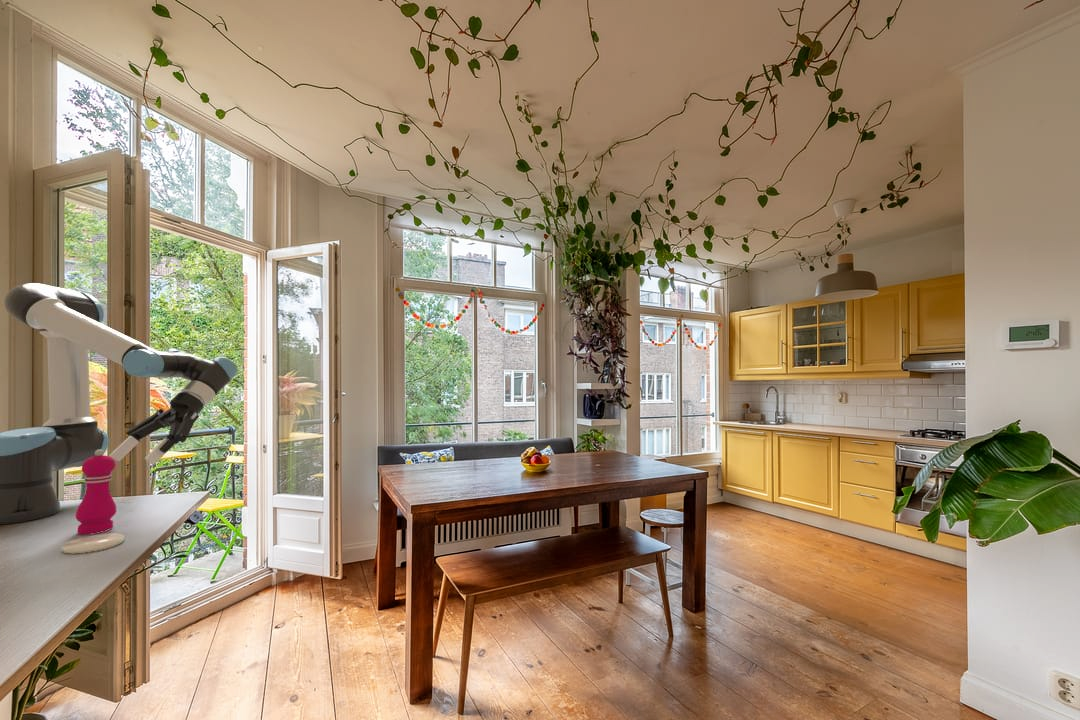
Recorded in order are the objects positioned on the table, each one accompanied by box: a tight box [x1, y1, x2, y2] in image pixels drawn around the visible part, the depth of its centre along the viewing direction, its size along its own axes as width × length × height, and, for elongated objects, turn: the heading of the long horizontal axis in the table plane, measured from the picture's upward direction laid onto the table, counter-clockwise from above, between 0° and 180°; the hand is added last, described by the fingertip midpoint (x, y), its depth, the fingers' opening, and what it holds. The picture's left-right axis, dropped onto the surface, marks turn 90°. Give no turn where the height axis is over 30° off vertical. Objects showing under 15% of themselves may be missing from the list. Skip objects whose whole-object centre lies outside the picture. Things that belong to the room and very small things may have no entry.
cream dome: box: [61, 532, 125, 555], centre depth 103 cm, size 10×10×1 cm
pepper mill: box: [75, 449, 117, 535], centre depth 113 cm, size 7×7×20 cm
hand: (131, 460), depth 119 cm, fingers open, 13 cm apart
